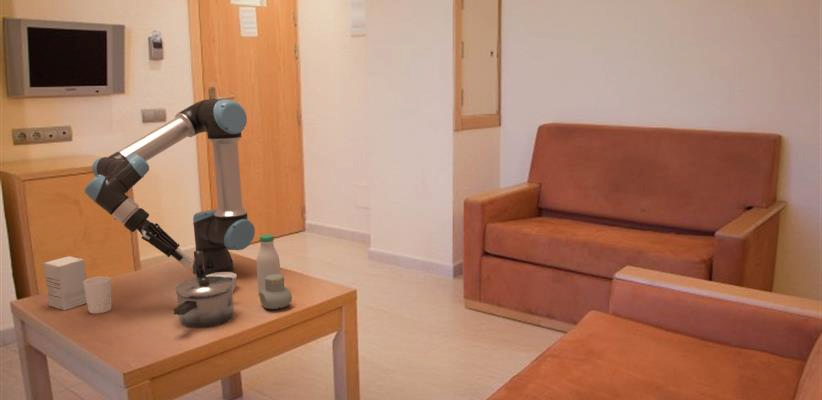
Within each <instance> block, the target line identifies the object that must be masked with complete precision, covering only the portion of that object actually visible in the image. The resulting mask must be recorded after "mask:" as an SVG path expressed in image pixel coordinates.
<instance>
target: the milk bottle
mask: <svg viewBox="0 0 822 400" xmlns="http://www.w3.org/2000/svg"><path fill="white" fill-rule="evenodd" d="M274 239H275V238H274V235H273V234H263V235H260V236H259V243H260V247H259V251H258V252H257V256H256V273H257V275H256V276H257V289H258V290H257V291H258V294H259V295H260V293H261V292H262V291H263V290H264V289H266V287H265V277H266V276H268V275H272V274H280V275H282V273H281V263H280V257H279V254H278V252H277V250H276V248H275V246H274V242H275V240H274Z"/></svg>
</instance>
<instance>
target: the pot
mask: <svg viewBox="0 0 822 400" xmlns="http://www.w3.org/2000/svg"><path fill="white" fill-rule="evenodd" d="M226 278H229V277H226ZM229 279H231V280H232V278H229ZM233 295H234V294H233V291H232V288H231V289H230V290H229V291H227V292H224V293H222V294H218V295H214V296H209V297H200V298H189V297H182V296H179V295H177V294H176V296H177V297H176V298H177V306H176V307H175V308H173V314H174V315H176V316H177V315H178V318H179V325H181V326H183V327H185V328H191V329H204V328H206V329H207V328H211V327H217V326H220V325H223V324H225V323H228V322H229V320H230V321H231V320H233V318H234V317H235V311H234V298H233ZM233 316H234V317H233Z"/></svg>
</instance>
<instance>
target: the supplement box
mask: <svg viewBox="0 0 822 400" xmlns="http://www.w3.org/2000/svg"><path fill="white" fill-rule="evenodd" d="M42 264H43V270H44V277H45V284H46V292H47V293H46V294H47V299H48V305H49V306H48V307H51V306H52V307H51V308H54V307H55V309H59V310H62V311H68V310H70V309H73V308H76V307H79V306H82V305H84V304H85V305H86V304H87V301H86V296H85V290H84V285H83V281H85V280H87V279H88V278H87V272H86V265H85V259H83V258H80V257H79V258H78V257H74V256H70V255H69V256H66V257H60V258H58V259H54V260H50V261H46V262H43V263H42ZM67 309H68V310H67Z"/></svg>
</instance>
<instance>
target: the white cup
mask: <svg viewBox="0 0 822 400" xmlns="http://www.w3.org/2000/svg"><path fill="white" fill-rule="evenodd" d="M111 282H112V281H111V277H109V276H94V277H90V278H87V280H85V281H83V285H84V290H85V296H86V301H87V303H86V304H87V309H88V310H87V311H88V313H90V314H104V313H106V312H109V311H111V309H112V307H113V305H112V298H113V297H112V284H111Z"/></svg>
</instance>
